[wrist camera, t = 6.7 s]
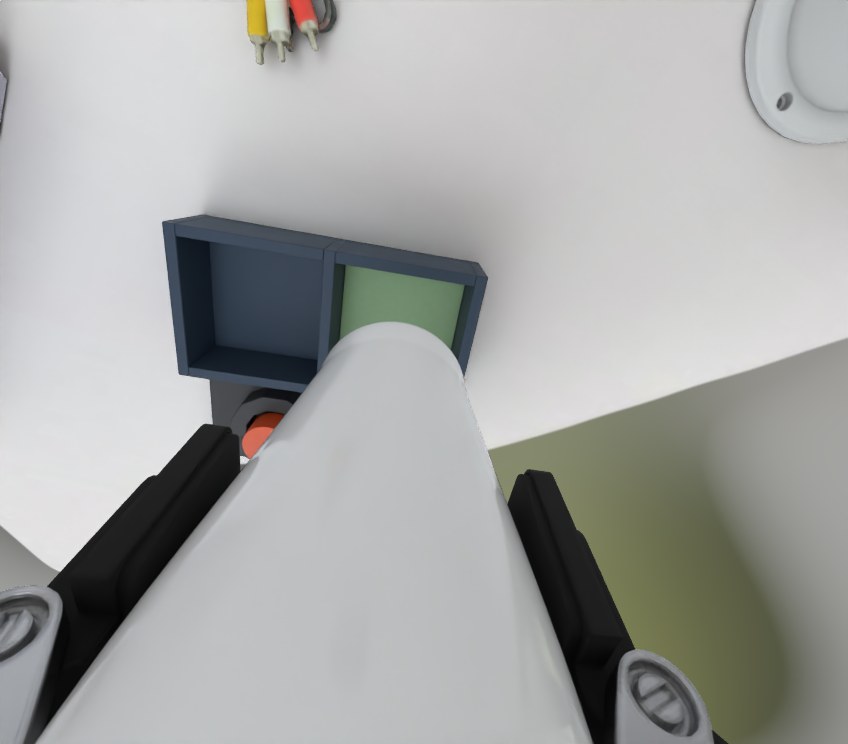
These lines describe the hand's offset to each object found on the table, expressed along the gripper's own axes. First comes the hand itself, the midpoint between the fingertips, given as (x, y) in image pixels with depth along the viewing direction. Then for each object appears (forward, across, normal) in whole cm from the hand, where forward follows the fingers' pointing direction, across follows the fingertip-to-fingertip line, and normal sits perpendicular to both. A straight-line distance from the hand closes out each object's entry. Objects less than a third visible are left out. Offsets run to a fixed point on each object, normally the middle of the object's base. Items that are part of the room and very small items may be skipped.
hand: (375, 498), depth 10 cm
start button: (+18, +8, +12) cm, 23 cm away
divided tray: (+21, +5, +2) cm, 22 cm away
